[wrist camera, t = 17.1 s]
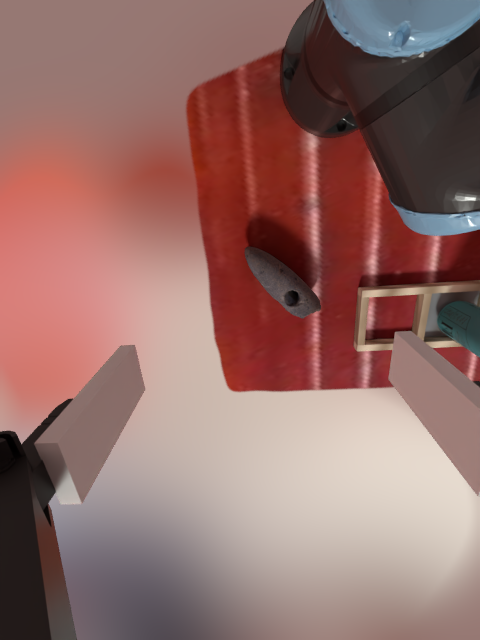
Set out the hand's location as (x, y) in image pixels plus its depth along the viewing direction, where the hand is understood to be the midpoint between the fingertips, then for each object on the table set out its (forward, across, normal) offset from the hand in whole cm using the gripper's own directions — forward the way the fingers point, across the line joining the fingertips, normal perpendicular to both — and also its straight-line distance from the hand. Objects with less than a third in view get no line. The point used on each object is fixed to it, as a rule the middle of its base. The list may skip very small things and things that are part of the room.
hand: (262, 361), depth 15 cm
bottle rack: (+37, +28, -13) cm, 48 cm away
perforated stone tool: (+37, +4, -5) cm, 38 cm away
